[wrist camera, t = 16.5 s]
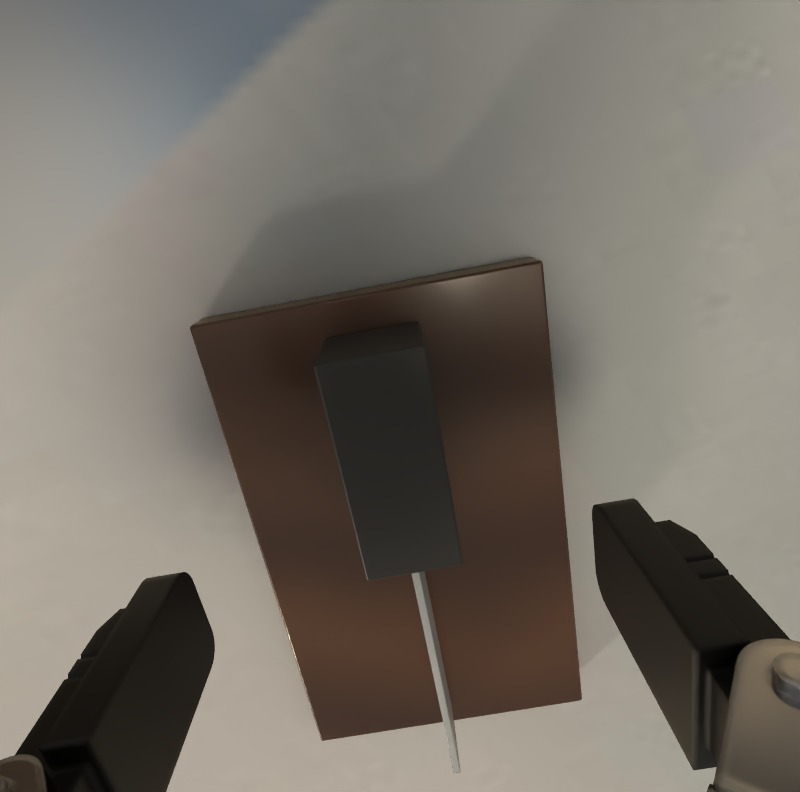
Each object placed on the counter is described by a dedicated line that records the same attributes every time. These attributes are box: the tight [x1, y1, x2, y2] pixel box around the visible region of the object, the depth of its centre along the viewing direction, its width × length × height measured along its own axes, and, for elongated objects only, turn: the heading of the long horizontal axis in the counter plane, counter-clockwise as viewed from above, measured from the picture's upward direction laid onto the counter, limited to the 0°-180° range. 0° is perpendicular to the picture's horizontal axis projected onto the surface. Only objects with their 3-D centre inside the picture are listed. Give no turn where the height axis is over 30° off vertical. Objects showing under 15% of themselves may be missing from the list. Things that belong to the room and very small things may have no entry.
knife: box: [314, 321, 463, 773], centre depth 18 cm, size 16×3×3 cm, turn 10°
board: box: [190, 257, 582, 741], centre depth 20 cm, size 18×11×1 cm, turn 10°
